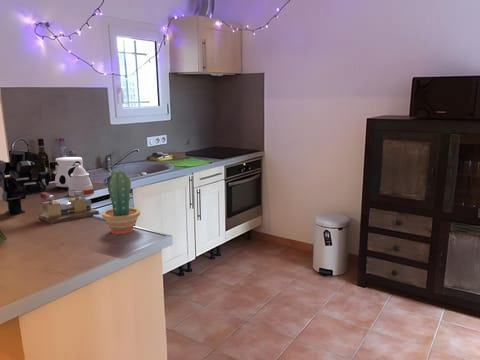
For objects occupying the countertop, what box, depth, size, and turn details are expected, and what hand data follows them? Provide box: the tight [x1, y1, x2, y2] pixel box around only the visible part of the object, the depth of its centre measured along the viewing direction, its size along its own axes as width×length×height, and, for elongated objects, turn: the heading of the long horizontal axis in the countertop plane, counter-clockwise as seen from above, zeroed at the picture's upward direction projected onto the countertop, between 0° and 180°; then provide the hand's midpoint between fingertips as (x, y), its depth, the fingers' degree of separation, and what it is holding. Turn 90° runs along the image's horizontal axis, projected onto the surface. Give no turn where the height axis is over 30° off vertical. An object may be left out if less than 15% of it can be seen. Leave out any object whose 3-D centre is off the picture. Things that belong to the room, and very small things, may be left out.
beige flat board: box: [38, 207, 100, 225], centre depth 182 cm, size 13×22×2 cm, turn 138°
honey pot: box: [68, 163, 94, 198], centre depth 225 cm, size 13×13×18 cm
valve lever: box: [39, 192, 55, 202], centre depth 177 cm, size 9×3×2 cm, turn 48°
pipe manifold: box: [41, 187, 95, 219], centre depth 182 cm, size 6×23×10 cm, turn 138°
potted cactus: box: [101, 169, 141, 235], centre depth 160 cm, size 15×15×25 cm
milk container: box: [54, 156, 84, 189], centre depth 243 cm, size 17×17×18 cm
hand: (34, 188), depth 168 cm, fingers open, 9 cm apart
